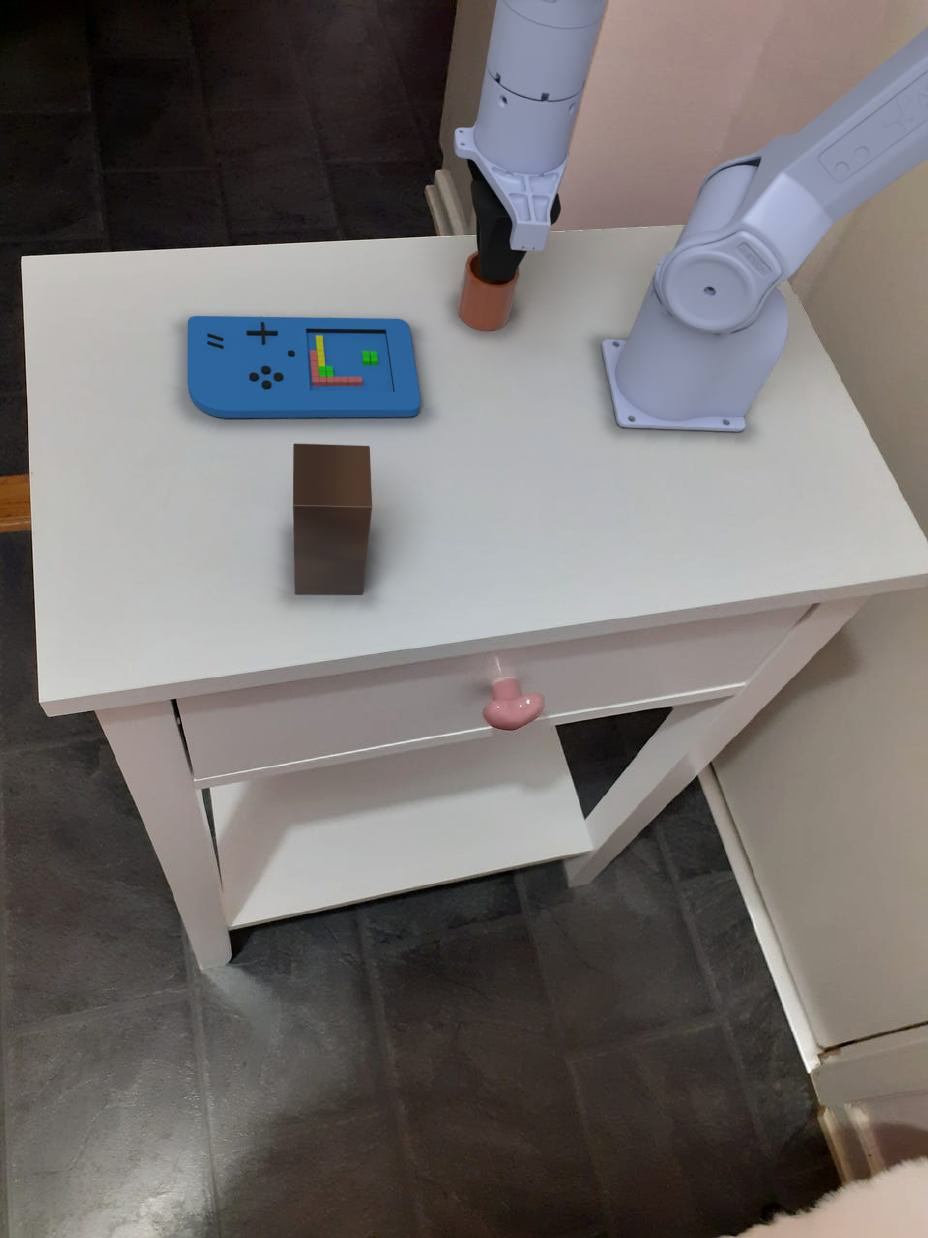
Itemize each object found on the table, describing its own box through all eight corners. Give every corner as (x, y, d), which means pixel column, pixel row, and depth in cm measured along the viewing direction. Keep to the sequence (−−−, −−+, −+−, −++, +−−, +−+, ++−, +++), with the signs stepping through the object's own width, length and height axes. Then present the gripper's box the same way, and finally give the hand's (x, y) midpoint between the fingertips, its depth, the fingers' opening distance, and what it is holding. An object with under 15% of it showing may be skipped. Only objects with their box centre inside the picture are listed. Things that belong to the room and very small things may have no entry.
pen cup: (505, 295, 69) (516, 251, 66) (511, 332, 67) (522, 289, 64) (455, 292, 68) (463, 247, 65) (459, 329, 67) (468, 286, 63)
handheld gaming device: (187, 311, 62) (409, 314, 65) (188, 324, 63) (407, 326, 66) (186, 407, 58) (422, 405, 61) (188, 418, 59) (420, 417, 62)
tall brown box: (361, 538, 57) (369, 445, 49) (362, 595, 55) (372, 507, 47) (294, 537, 56) (293, 442, 48) (294, 594, 54) (292, 505, 46)
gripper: (456, -9, 55) (430, 191, 67) (477, 146, 48) (444, 339, 60) (570, 4, 56) (525, 198, 68) (607, 158, 49) (549, 344, 61)
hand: (493, 265), depth 64 cm, fingers closed
